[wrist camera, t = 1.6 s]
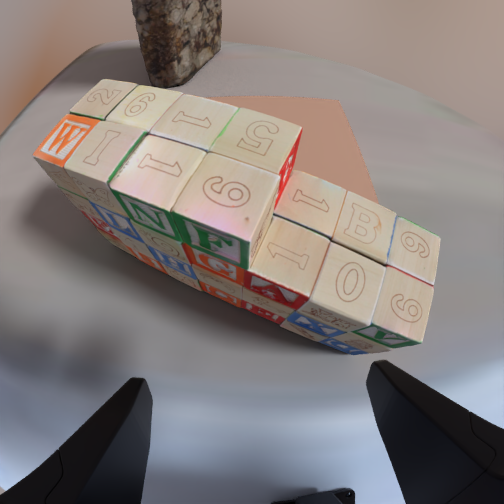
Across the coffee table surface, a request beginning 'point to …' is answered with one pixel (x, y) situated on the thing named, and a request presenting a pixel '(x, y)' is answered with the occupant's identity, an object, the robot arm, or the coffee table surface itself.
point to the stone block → (177, 37)
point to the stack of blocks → (242, 215)
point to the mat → (317, 138)
